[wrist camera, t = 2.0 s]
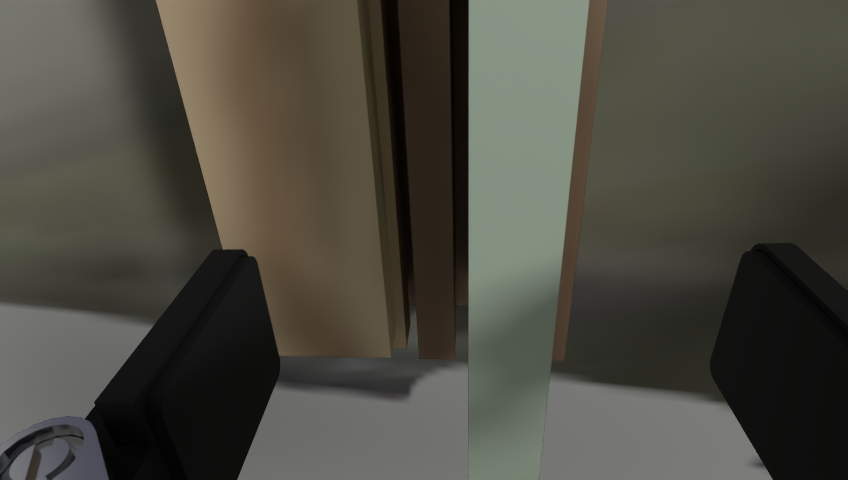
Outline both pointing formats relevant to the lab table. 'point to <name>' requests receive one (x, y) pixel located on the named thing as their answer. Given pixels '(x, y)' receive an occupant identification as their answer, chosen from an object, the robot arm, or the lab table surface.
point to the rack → (350, 161)
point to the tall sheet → (517, 219)
